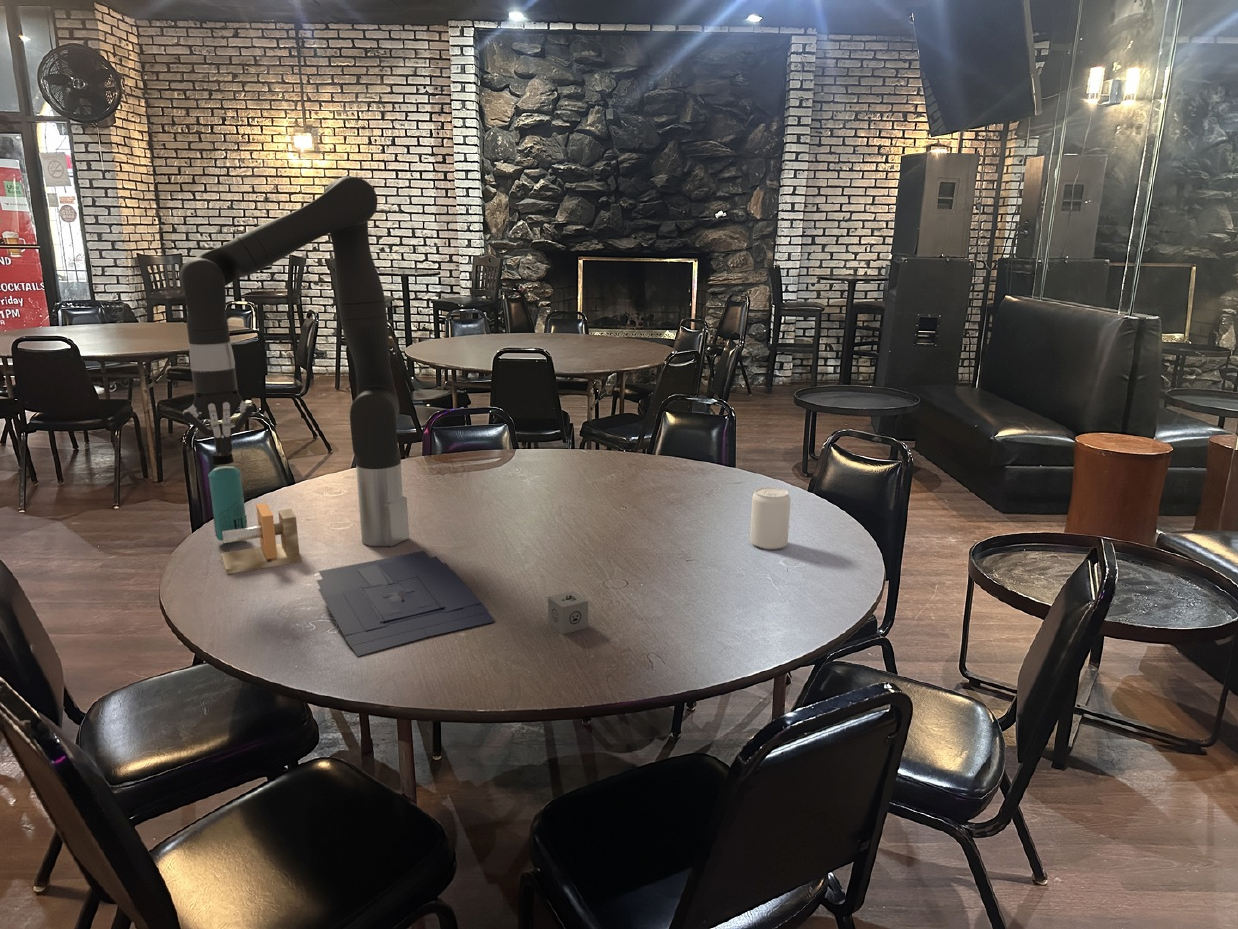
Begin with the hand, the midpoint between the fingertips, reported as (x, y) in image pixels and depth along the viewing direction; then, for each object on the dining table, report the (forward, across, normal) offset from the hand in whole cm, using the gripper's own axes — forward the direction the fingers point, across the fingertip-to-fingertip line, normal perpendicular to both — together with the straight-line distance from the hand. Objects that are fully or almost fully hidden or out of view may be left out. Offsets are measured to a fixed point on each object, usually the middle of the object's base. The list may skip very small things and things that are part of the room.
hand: (224, 455), depth 164 cm
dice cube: (+24, -46, +57) cm, 77 cm away
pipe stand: (+23, -3, 0) cm, 23 cm away
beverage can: (+24, -102, +43) cm, 113 cm away
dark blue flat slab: (+24, -23, +36) cm, 49 cm away
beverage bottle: (+23, 0, -14) cm, 27 cm away
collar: (+21, -6, 0) cm, 22 cm away
